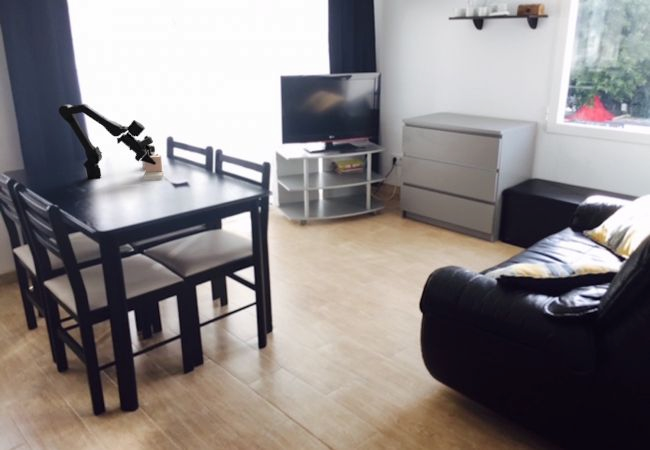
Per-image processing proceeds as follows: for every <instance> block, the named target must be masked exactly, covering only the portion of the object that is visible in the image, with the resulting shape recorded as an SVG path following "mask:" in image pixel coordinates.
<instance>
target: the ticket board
mask: <svg viewBox="0 0 650 450" xmlns="http://www.w3.org/2000/svg"><path fill="white" fill-rule="evenodd" d="M162 171H163V170H162ZM162 171H161V172H146V171H145V173H144V174H143V181H152V180H153V181H155V180H162V179H164V177H165V175H164V171H163V172H162Z"/></svg>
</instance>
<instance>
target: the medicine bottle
mask: <svg viewBox="0 0 650 450" xmlns="http://www.w3.org/2000/svg"><path fill="white" fill-rule="evenodd" d="M149 145H150V146H151V147H150V148H149V150H150V149H151V154H152V155H153V156H158V155H159V153H158V152H156V148H155V145H153V144H152V145H151V144H149ZM141 163H142V168H143V169H145V162H144V161H141Z"/></svg>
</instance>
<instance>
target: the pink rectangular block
mask: <svg viewBox="0 0 650 450" xmlns="http://www.w3.org/2000/svg"><path fill="white" fill-rule="evenodd" d="M150 157H151V158H152V159H153V160H154V161H155V163H156V164H155V165H153V164H150V163H147V162H145V168H144V170H145V172H161V171H162V172H163V173H164V171H163V163H162V162H163V161H162V155H159V154H158V156H150Z"/></svg>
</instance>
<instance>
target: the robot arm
mask: <svg viewBox="0 0 650 450" xmlns="http://www.w3.org/2000/svg"><path fill="white" fill-rule="evenodd" d="M81 113H83V114H85V115H86V116H87V117H89V118H90V119H92V120H93V121H95V122H96V123H98V124H100V125H101V126H103V128H104V129H105V130H106V131H107V132H108V133H109V134H110V135H111V136H113V137H115V138H116V137H117V138H116V141H117V144H120V143H123V144H124V145H125V146H126V147H128V148H129V151H133V153H134V154H135V156H134V159H135V161H137V162H142V161H144V162H147V163H150V164H153V165H155V164H156V163H155V161H154V160H153V159H152V158H151V157H150V156H153V155H152V154H151V149H150V150H149V148H150V147H151V146H150V145H151V144H153V143H154V141H153V139H152V137H151V136H148V135H145V136H144V137H143V139H142V140H140V139H137V138H138V137H139V136H140V135H141V134H142V133H143V132H144V130H146V128H145V126H144V125H143V124H142V123H140V122H138V120H135V119H133V120H132V121H131V123H130V124H129V125H128V126H126V125H125V126H124V125H122V124H120V123H118V122H116V121H113V120H110V119H109V118H107V117H105V116H104V115H102V114H101V113H99V112H98V111H96V109H93V108H92V107H90V106H89V105H88V104H87V103H81V104H75V105H74V104H73V105H72V104H69V103H66V104H64V105H61V106H60V107H59V108H58V114H59V115H60V117H62V120H64V121H65V122H66V123H67V124H69V126H70V128H71V129H72V131H73V133H74V134H75V136H76V137H77V139H78V141H79V143H80V144H81V145H82V147H83V150H84V153H85V156H86V161H85V162H84V163H83V166H84V169H85V173H86V176H85V177H86V179H87V180H95V179H101V177H102V172H101V168H100V166H99V163H100V162H101V161H102V158H103V152H101V150H100V147H99V146H94V145H93V144H92V142H91V140H90V139H89V137H88V135H87V133H86V132H85V130H84V128H83V127H82V125H81V124H80V122H79V120H78V117H77V116H78V115H77V114H81ZM119 136H120V137H119ZM136 137H137V138H136Z"/></svg>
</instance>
